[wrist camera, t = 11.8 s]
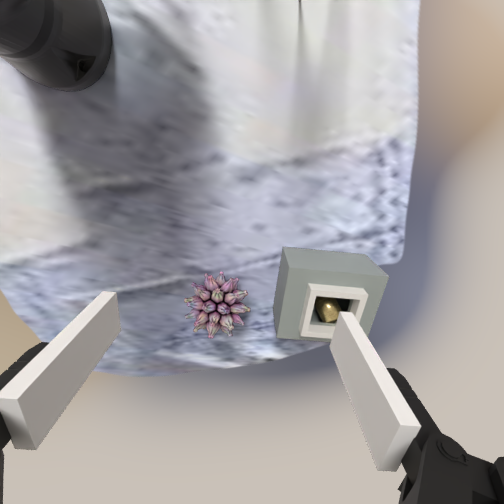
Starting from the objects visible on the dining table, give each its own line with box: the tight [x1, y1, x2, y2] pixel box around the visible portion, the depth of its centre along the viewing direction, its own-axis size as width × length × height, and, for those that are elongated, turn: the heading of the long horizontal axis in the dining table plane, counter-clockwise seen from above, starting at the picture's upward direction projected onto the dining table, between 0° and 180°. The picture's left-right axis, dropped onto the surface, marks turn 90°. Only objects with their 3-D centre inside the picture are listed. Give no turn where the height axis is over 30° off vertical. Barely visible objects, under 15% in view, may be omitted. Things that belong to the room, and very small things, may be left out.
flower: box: [184, 272, 250, 338], centre depth 45 cm, size 12×12×12 cm
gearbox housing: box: [273, 247, 389, 342], centre depth 45 cm, size 16×14×11 cm
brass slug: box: [314, 296, 343, 324], centre depth 47 cm, size 4×4×6 cm
